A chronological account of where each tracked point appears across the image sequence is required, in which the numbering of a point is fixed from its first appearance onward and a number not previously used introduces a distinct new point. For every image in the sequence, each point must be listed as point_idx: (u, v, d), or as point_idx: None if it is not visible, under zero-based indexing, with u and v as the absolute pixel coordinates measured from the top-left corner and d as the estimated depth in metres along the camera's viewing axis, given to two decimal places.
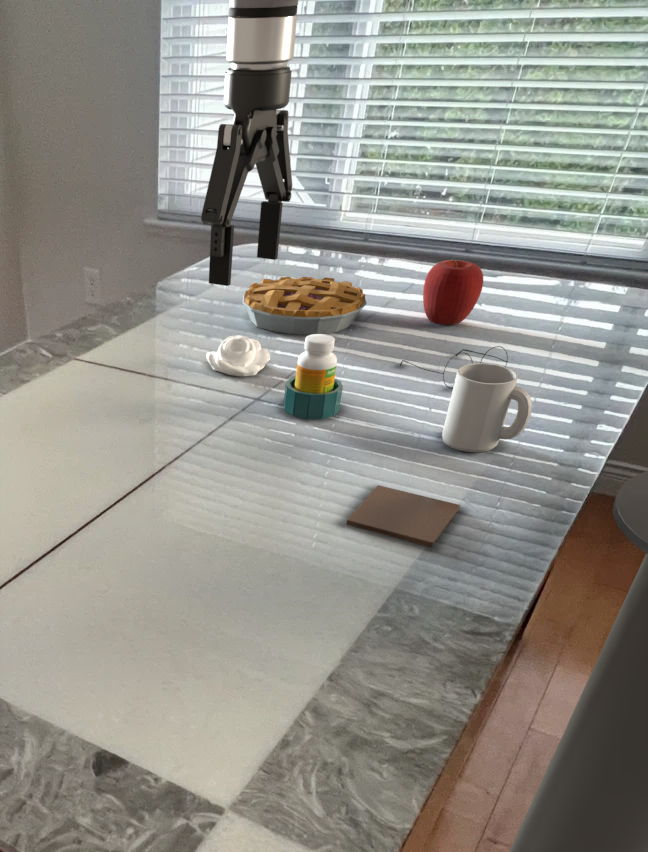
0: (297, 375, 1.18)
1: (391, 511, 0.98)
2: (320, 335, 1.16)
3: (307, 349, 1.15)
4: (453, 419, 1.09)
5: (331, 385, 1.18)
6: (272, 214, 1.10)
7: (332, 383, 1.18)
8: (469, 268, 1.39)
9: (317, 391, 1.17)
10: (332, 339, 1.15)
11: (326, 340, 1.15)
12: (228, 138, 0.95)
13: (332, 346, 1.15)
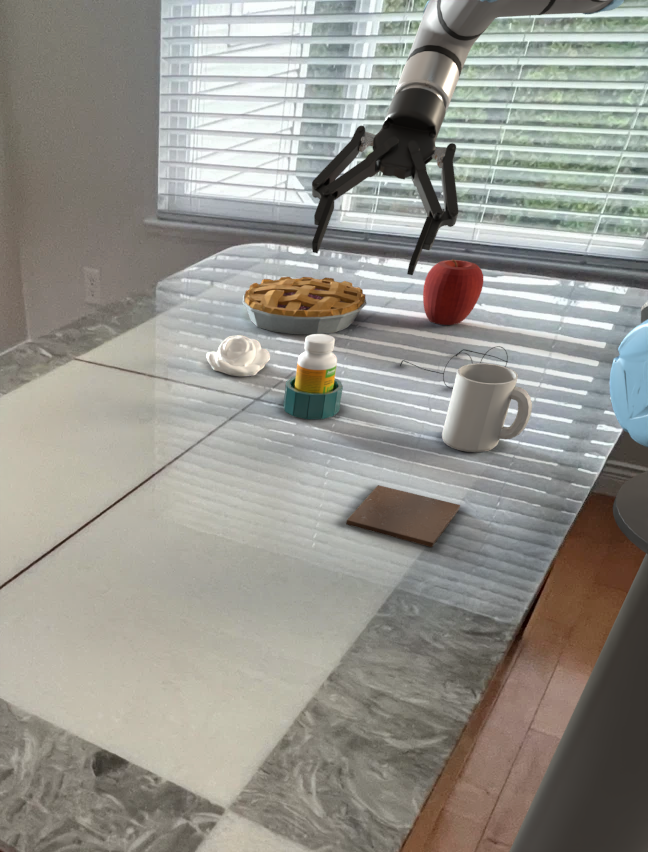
0: (297, 375, 1.18)
1: (391, 511, 0.98)
2: (320, 335, 1.16)
3: (307, 349, 1.15)
4: (453, 419, 1.09)
5: (331, 385, 1.18)
6: None
7: (332, 383, 1.18)
8: (469, 268, 1.39)
9: (317, 391, 1.17)
10: (332, 339, 1.15)
11: (326, 339, 1.15)
12: None
13: (332, 346, 1.15)
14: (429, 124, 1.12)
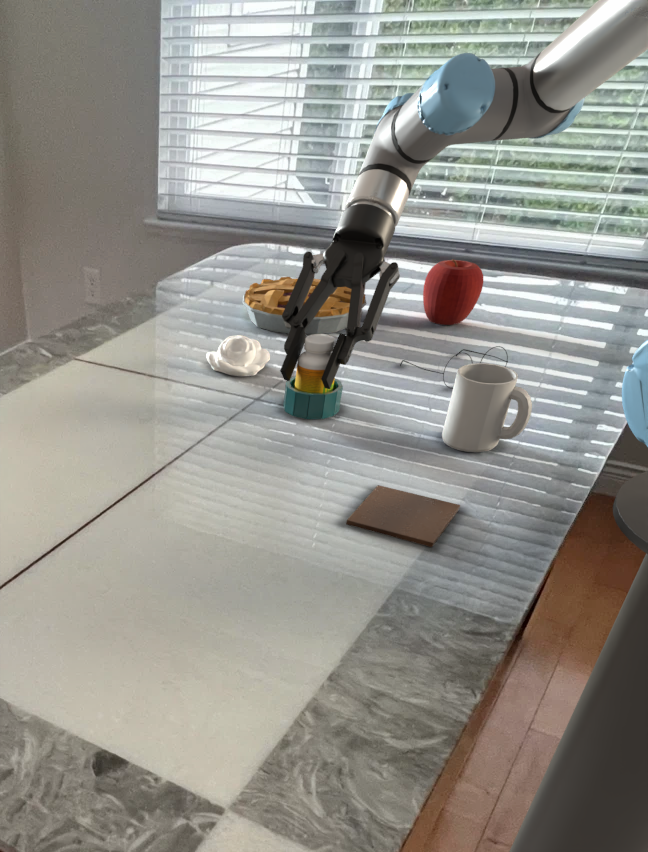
0: (297, 375, 1.18)
1: (391, 511, 0.98)
2: (320, 335, 1.16)
3: (307, 349, 1.15)
4: (453, 419, 1.09)
5: (331, 385, 1.18)
6: None
7: (332, 383, 1.18)
8: (469, 268, 1.39)
9: (317, 391, 1.17)
10: (332, 339, 1.15)
11: (326, 339, 1.15)
12: None
13: (332, 346, 1.15)
14: (374, 236, 1.12)
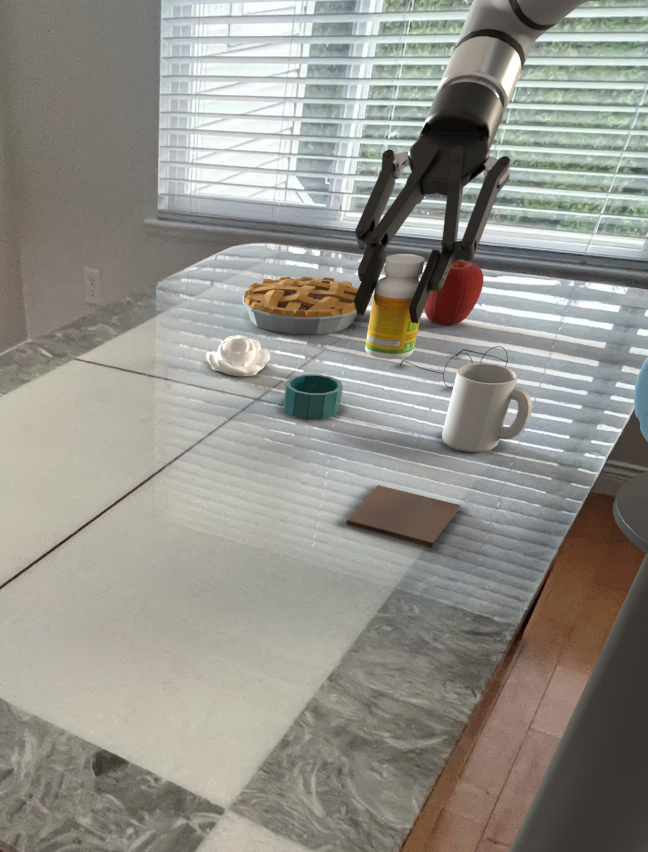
0: (374, 307, 0.93)
1: (391, 511, 0.98)
2: (405, 255, 0.91)
3: (389, 272, 0.90)
4: (453, 419, 1.09)
5: None
6: None
7: None
8: (469, 268, 1.39)
9: (400, 327, 0.92)
10: (421, 259, 0.89)
11: (414, 259, 0.89)
12: None
13: (421, 267, 0.89)
14: (478, 123, 0.86)
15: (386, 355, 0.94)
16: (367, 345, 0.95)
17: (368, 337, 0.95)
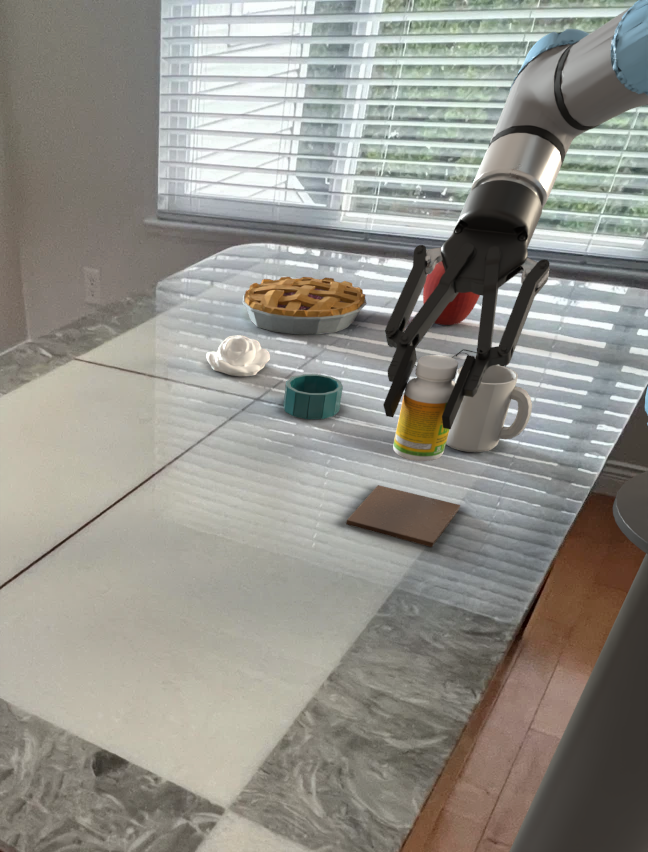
0: (404, 409, 0.89)
1: (391, 511, 0.98)
2: (437, 357, 0.87)
3: (421, 376, 0.86)
4: None
5: None
6: None
7: None
8: None
9: (431, 431, 0.88)
10: (455, 362, 0.86)
11: (447, 363, 0.85)
12: None
13: (455, 372, 0.85)
14: (517, 224, 0.82)
15: (416, 457, 0.90)
16: (395, 445, 0.92)
17: (397, 437, 0.91)
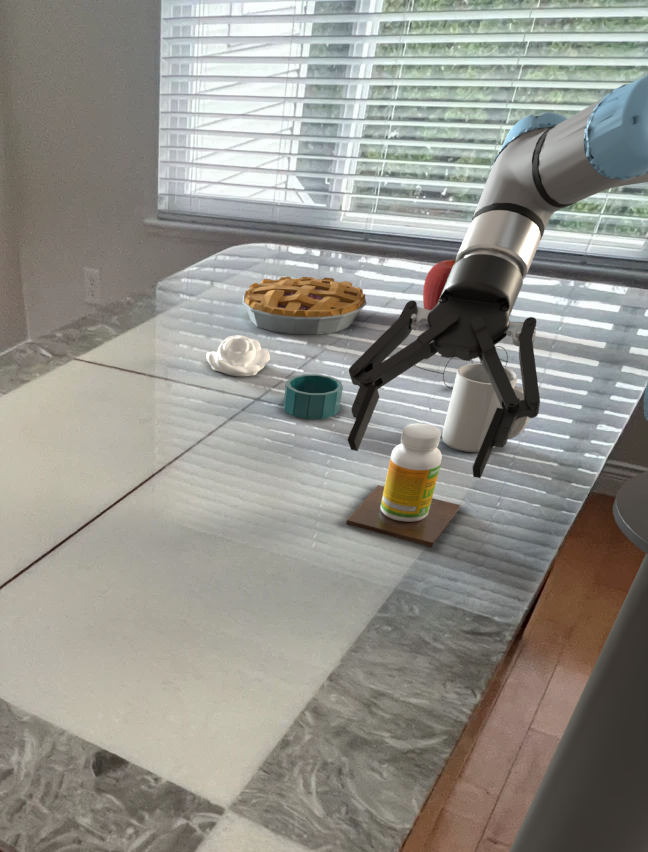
0: (390, 474, 0.94)
1: None
2: (421, 426, 0.92)
3: (405, 444, 0.91)
4: (453, 419, 1.09)
5: (433, 487, 0.94)
6: None
7: (434, 484, 0.94)
8: None
9: (416, 495, 0.93)
10: (438, 432, 0.90)
11: (430, 432, 0.90)
12: None
13: (438, 441, 0.90)
14: (499, 296, 0.87)
15: (402, 518, 0.95)
16: (383, 506, 0.97)
17: (384, 499, 0.96)
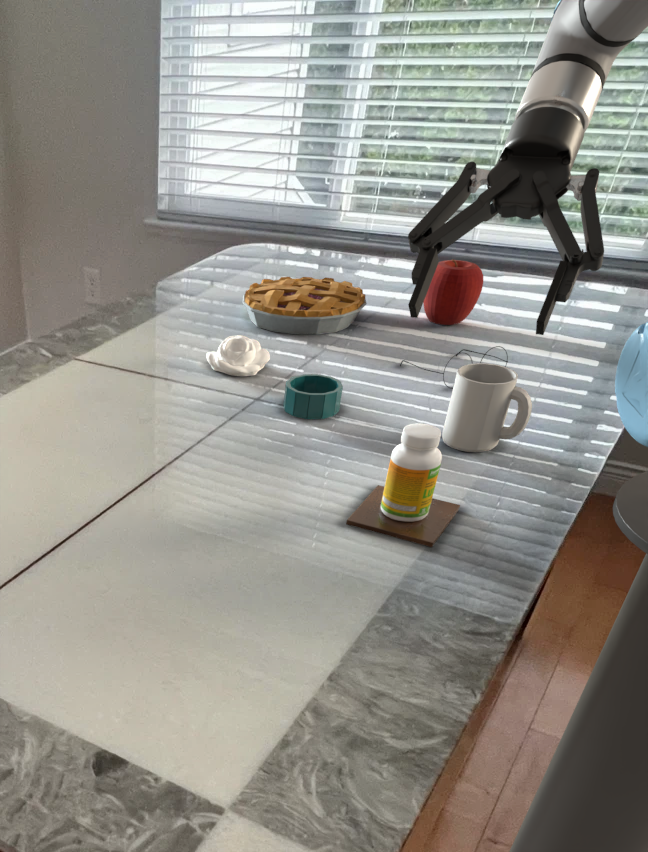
0: (390, 474, 0.94)
1: None
2: (422, 426, 0.92)
3: (406, 444, 0.91)
4: (453, 419, 1.09)
5: (433, 487, 0.94)
6: None
7: (434, 484, 0.94)
8: (469, 268, 1.39)
9: (416, 495, 0.93)
10: (438, 432, 0.90)
11: (430, 432, 0.90)
12: None
13: (438, 441, 0.90)
14: (561, 148, 0.87)
15: (402, 518, 0.95)
16: (383, 506, 0.97)
17: (384, 499, 0.96)
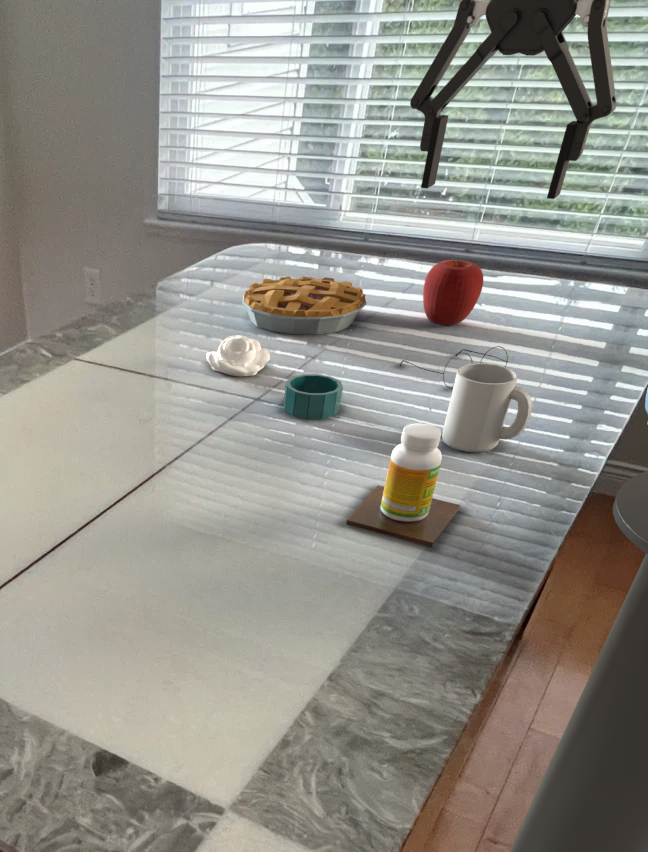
0: (390, 474, 0.94)
1: None
2: (421, 426, 0.92)
3: (406, 444, 0.91)
4: (453, 419, 1.09)
5: (433, 487, 0.94)
6: None
7: (434, 484, 0.94)
8: (469, 268, 1.39)
9: (416, 495, 0.93)
10: (438, 432, 0.90)
11: (430, 432, 0.90)
12: None
13: (438, 441, 0.90)
14: None
15: (402, 518, 0.95)
16: (383, 506, 0.97)
17: (384, 499, 0.96)
